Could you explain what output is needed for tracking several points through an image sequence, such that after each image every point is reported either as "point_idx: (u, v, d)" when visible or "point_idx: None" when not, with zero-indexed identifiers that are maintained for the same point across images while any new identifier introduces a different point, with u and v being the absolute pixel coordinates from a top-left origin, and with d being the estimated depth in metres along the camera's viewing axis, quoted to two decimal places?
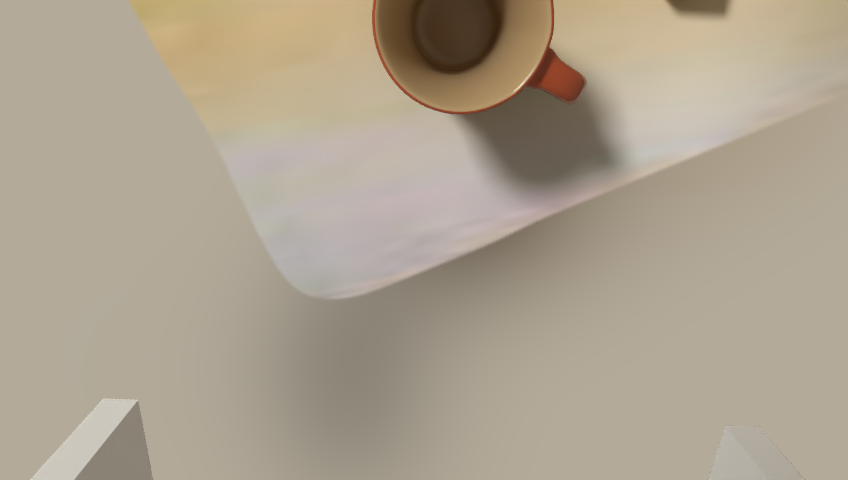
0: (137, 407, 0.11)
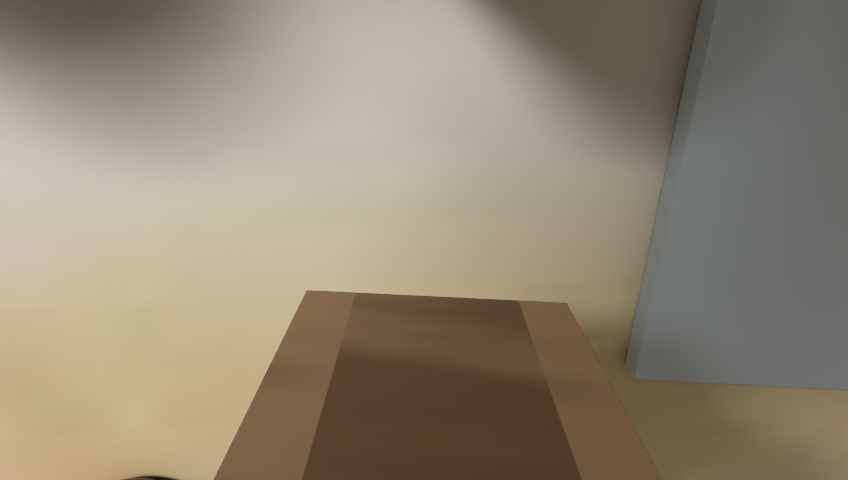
0: None
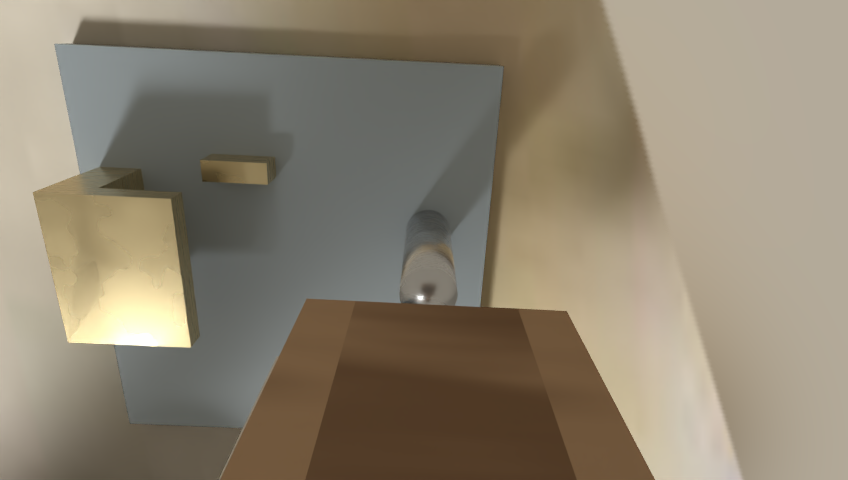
0: None
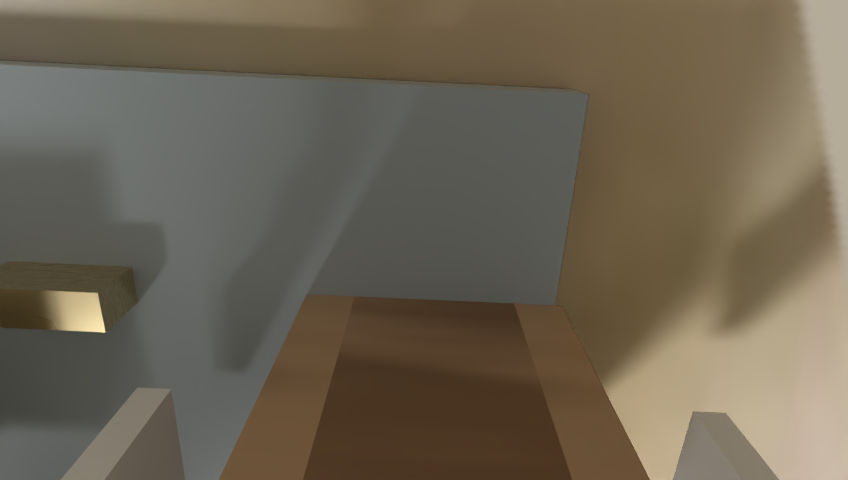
0: (170, 396, 0.12)
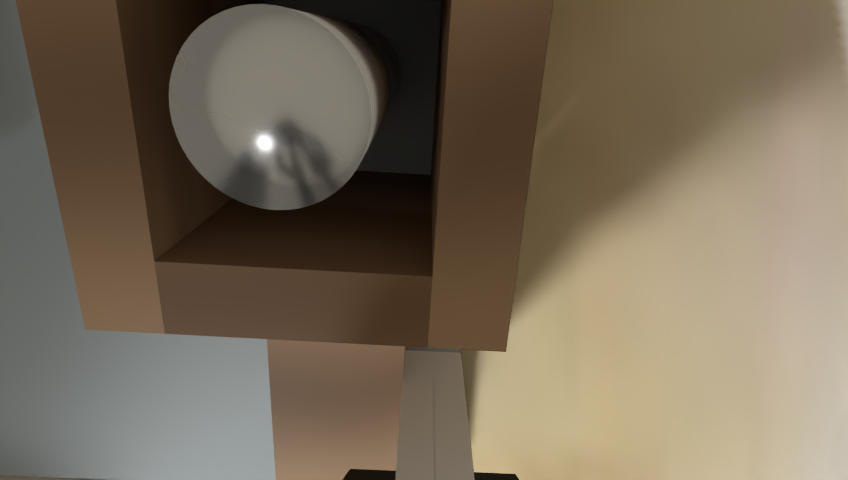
0: None
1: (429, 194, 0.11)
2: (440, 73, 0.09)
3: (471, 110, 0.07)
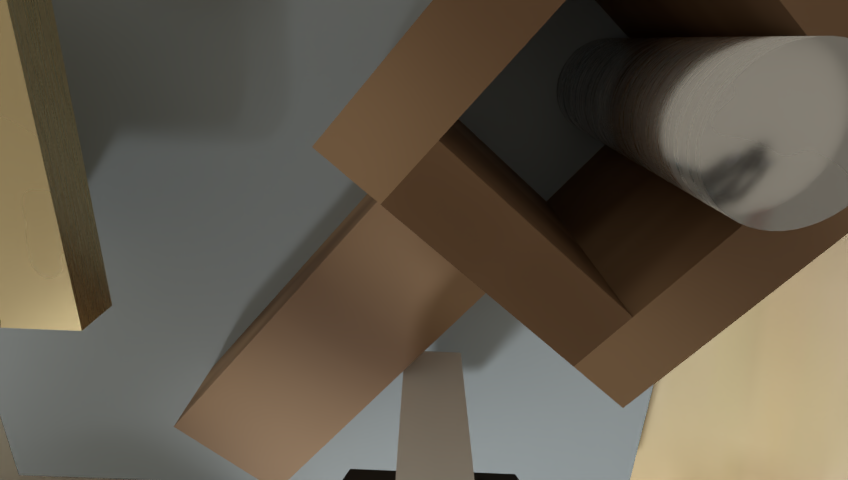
0: None
1: (562, 223, 0.12)
2: None
3: None
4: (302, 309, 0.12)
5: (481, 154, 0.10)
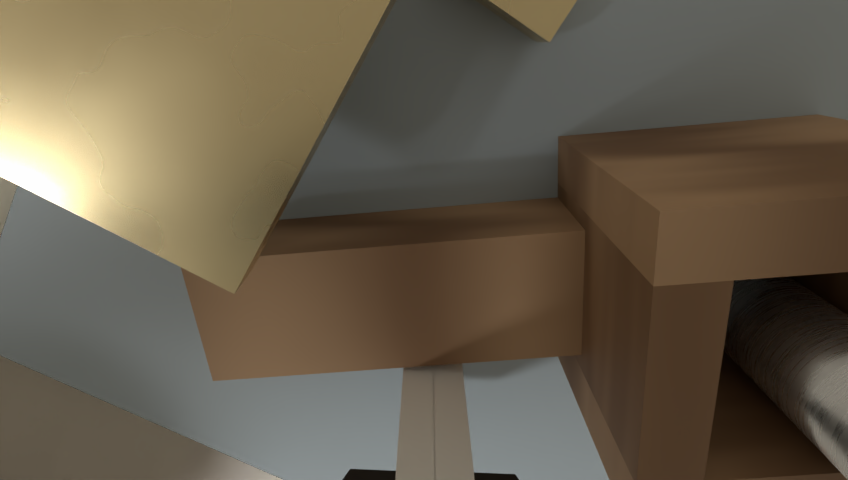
0: None
1: None
2: None
3: None
4: (397, 261, 0.11)
5: None
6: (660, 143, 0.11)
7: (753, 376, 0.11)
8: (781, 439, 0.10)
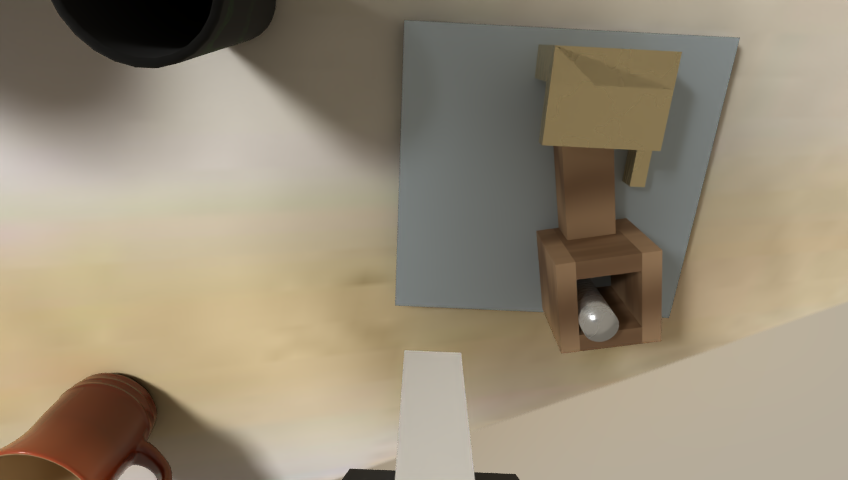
0: None
1: None
2: None
3: (572, 313, 0.33)
4: (608, 174, 0.33)
5: None
6: None
7: None
8: None
